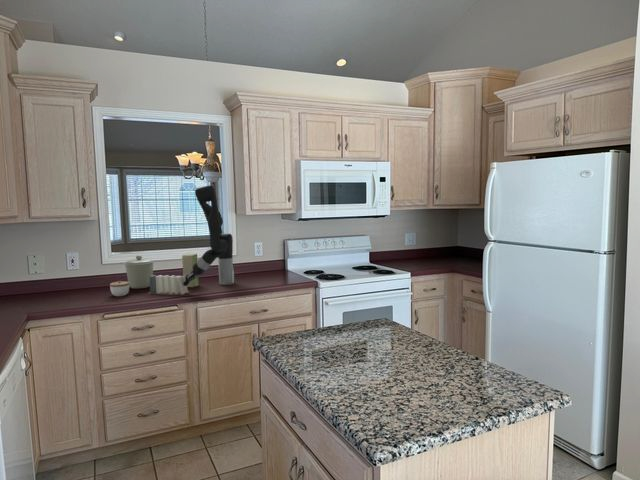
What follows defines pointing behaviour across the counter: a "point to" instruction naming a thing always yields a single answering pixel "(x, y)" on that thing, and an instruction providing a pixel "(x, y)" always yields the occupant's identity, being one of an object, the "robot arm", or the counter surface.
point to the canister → (139, 272)
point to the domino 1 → (153, 283)
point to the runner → (168, 293)
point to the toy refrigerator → (189, 267)
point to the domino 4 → (171, 284)
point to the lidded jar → (119, 288)
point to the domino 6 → (182, 286)
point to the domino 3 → (165, 284)
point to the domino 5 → (177, 285)
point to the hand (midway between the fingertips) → (184, 284)
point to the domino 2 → (159, 283)
